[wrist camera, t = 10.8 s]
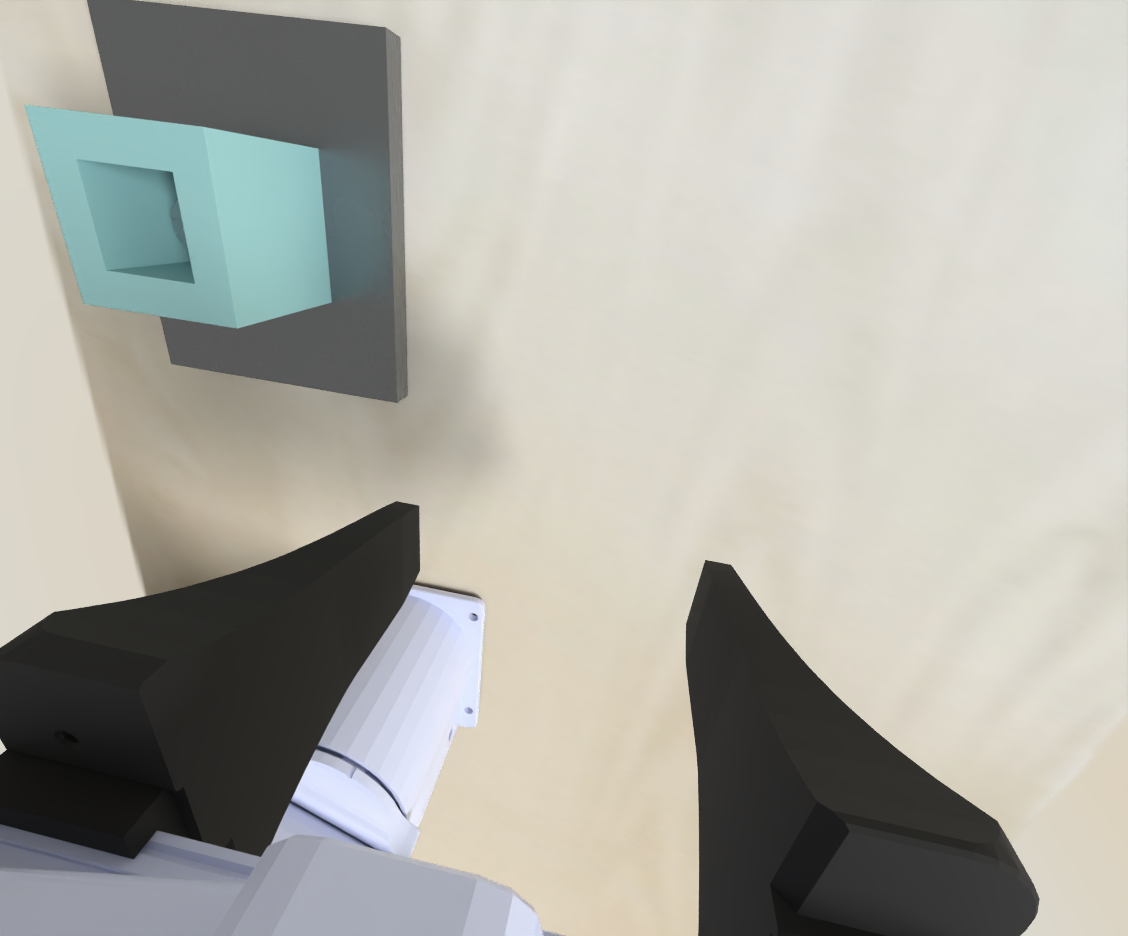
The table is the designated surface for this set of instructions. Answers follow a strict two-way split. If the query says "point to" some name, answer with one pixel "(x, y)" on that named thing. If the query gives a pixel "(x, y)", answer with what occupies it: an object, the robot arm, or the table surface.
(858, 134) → the table surface
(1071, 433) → the table surface
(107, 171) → the square hole block
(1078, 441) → the table surface
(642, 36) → the table surface
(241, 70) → the pin plate
